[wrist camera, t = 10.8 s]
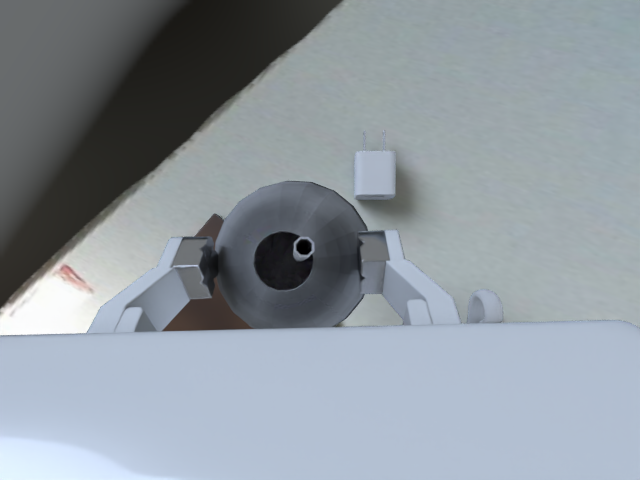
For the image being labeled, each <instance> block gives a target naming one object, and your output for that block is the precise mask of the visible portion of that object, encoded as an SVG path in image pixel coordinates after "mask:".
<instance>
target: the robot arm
mask: <svg viewBox="0 0 640 480" xmlns="http://www.w3.org/2000/svg"><path fill="white" fill-rule="evenodd" d="M357 244H358V247H357V269H358V272H359V289H360V294H382V295H383V296H384V298H385V299H386V300H387V301H388V302H389V304H390V305H391V306H392V307H393V308H394V310H395V311H396V312H397V313H398V314H399V316H400V317H401V318H402V319H403V325H394V326H355V327H314V328H275V329H236V330H197V331H162V330H163V329H164V328H165V327H166V326H167V325H168V324H169V323H170V322H171V321H172V319H173V318H174V317H175V316H176V315H177V314H178V313H179V312H180V311H181V310H182V309H183V308H184V306H185V305H186V304H187V303H188V302H189V301H190V299H206V298H212V295H213V291H214V288H215V282H214V278H216V277H217V276H218V273H219V271H218V253H217V252H216V251H215V250H214V249H213V247H214V242H213V239H212V237H210V236H209V237H171V238H170V239H169V240H168V243H167V245H166V247H165V249H164V252H163V254H162V256H161V258H160V260H159V263H158V265H157V267H156V268H152V269H151V270H149V271H148V272H147V273H145V274H144V275H143V276H141V277H140V278H139V279H137V280H136V281H135V282H133V283H132V284H131V285H129V286H128V287H127V288H125V289H124V290H123V291H121V292H120V293H119V294H117V295H116V296H115V297H113V298H112V299H111V300H109V301H108V302H107V303H105V304H104V305H103V306H101V307H100V309H99V311H98V313H97V315H96V317H95V318H94V320H93V322H92V324H91V326H90V328H89V330H88V331H87V333H79V334H40V335H1V336H0V480H640V328H639V327H637V326H636V325H634V324H632V323H630V322H626V321H621V320H588V321H551V322H511V323H472V324H462V322H461V319H460V316H459V313H458V310H457V307H456V304H455V301H454V298H453V297H452V296H451V295H450V294H448V293H447V292H446V291H445V290H444V289H443V288H441V287H440V286H439V285H438V284H437V283H435V282H434V281H433V280H432V279H431V278H430V277H428V276H427V275H426V274H425V273H424V272H423V271H421V270H420V269H419V268H418V267H417V266H415V265H414V264H413V263H412V262H411V261H410V260H405V257H404V252H403V248H402V244H401V240H400V236H399V231H398V230H397V229H396V230H384V231H383V230H379V231H358V232H357Z"/></svg>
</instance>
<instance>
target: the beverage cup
mask: <svg viewBox="0 0 640 480" xmlns="http://www.w3.org/2000/svg"><path fill="white" fill-rule="evenodd" d="M358 231H368V229H367V226H366V225H365V223H364V222H363V220H362V218H361V217H360V215H359V214H358V212H357V211H356V209H355V208H354V206H353V205H351V204H350V203H349V202H348V201H346V200H345V199H344V198H343V197H342V196H340V195H339V194H338V193H337V192H335V191H334V190H331V189H328V188H326V187H323V186H321V185H318V184H315V183H313V182H300V181H284V182H280V183H277V184H273V185H269V186H265V187H262V188H259V189H258V190H256V191H255V192H253V193H252V194H250V195H248V196H247V197H245V198H244V199H242V200H241V201H239V203H238V204H237V205H236V206H235V208H234V209H233V210H232V211H231V212H230V214H229V215H228V216H227V217H226V219H225V220H224V222H223V225H222V227H221V230H220V232H219V235H218V237H217V240H216V242H215V251H216V252H217V253H218V271H219V273H218V276H217V277H216V278H217V282H218V286H219V290H220V292H221V294H222V295H223V297H224V298H225V300H226V302H227V303H228V305H229V306H230V308H231V310H232V311H233V312H234V313H235V314H236V315H237V316H239V317H240V318H241V319H242V320H243V321H245V322H246V323H247V324H248V325H249V326H251V327H252V328H255V329H275V328H314V327H333V326H335V325H337V324H338V323H340V322H341V321H343V320H344V319H346V318H347V317H348V316H349V315H350V314H351V313H352V311H353V310H354V309H355V308H356V306H357V305H358V304H359V303H360V302H361V300H362V299H363V297H364V295H365V294H360V289H359V272H358V269H357V247H358V244H357V232H358Z"/></svg>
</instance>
